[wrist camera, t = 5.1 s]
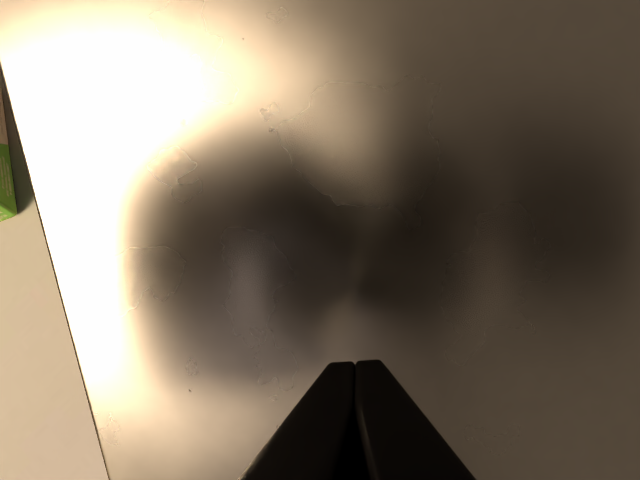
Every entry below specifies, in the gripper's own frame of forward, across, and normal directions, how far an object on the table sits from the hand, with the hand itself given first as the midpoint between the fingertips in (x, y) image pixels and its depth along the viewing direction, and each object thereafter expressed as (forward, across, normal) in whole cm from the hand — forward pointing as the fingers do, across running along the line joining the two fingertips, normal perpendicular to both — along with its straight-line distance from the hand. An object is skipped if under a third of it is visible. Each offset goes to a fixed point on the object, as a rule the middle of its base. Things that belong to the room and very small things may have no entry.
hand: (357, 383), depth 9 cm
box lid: (+3, 0, -1) cm, 3 cm away
